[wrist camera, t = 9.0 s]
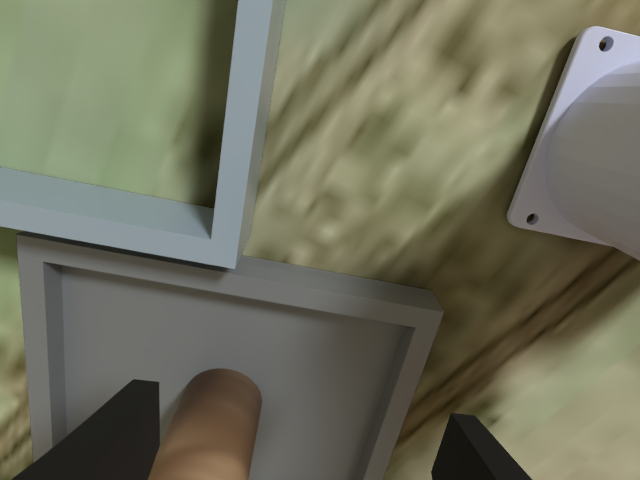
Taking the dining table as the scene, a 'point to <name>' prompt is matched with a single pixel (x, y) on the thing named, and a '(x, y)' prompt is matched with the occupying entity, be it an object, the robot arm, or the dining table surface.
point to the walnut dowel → (211, 429)
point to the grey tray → (226, 348)
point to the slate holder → (162, 214)
